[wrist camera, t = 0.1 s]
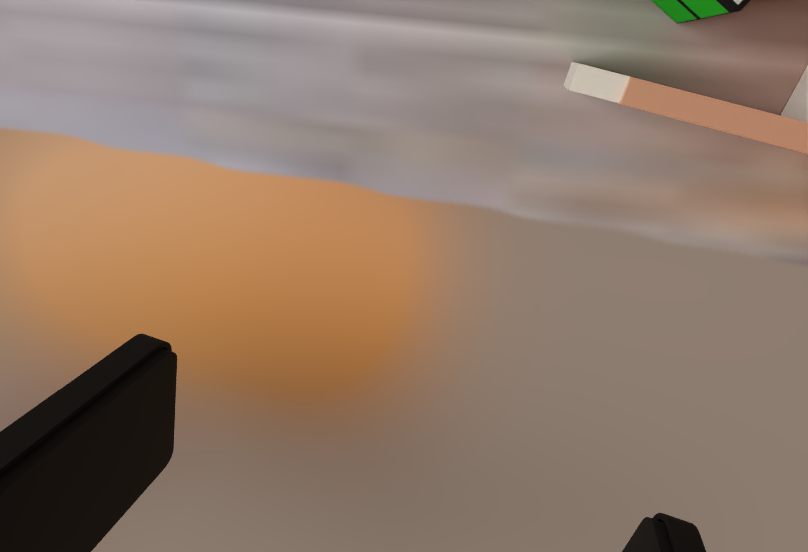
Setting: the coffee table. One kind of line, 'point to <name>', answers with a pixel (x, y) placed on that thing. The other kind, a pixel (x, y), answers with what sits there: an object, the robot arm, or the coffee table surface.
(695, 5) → the puzzle cube
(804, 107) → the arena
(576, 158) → the coffee table surface
